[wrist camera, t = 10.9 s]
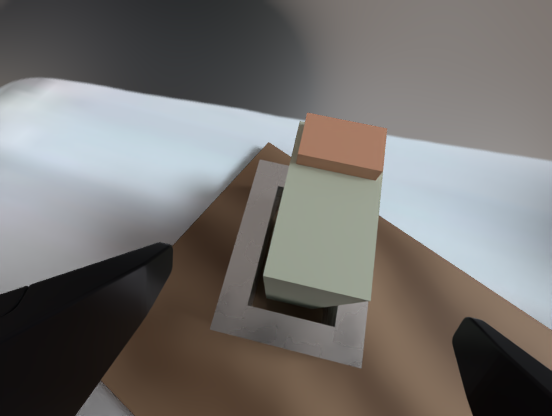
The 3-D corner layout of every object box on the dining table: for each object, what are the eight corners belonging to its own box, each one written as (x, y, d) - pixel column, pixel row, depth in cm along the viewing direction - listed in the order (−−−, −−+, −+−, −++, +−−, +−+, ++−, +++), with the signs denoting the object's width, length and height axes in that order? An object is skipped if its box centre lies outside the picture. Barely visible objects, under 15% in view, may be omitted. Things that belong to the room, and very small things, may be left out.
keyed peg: (311, 309, 18) (378, 300, 7) (266, 298, 18) (262, 272, 7) (324, 230, 20) (393, 127, 9) (283, 221, 20) (301, 109, 9)
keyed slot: (340, 356, 17) (361, 368, 13) (222, 326, 17) (209, 329, 13) (359, 209, 20) (380, 185, 17) (261, 187, 21) (259, 159, 17)
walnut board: (427, 705, 13) (439, 736, 12) (84, 350, 17) (74, 352, 16) (552, 339, 18) (567, 340, 17) (268, 149, 23) (268, 142, 22)
